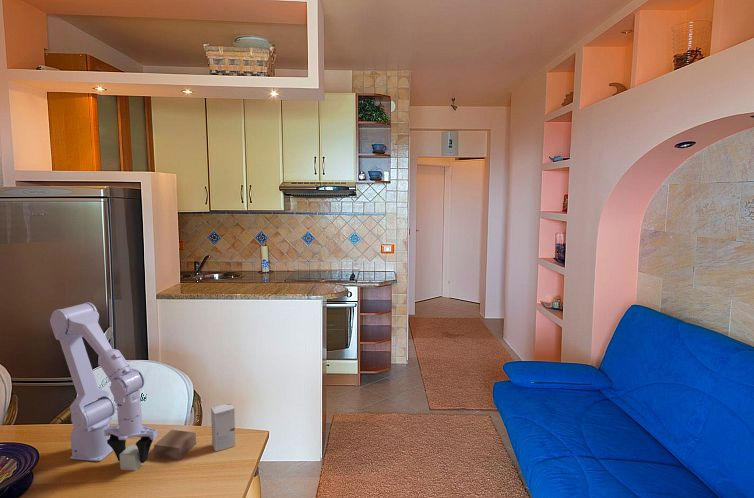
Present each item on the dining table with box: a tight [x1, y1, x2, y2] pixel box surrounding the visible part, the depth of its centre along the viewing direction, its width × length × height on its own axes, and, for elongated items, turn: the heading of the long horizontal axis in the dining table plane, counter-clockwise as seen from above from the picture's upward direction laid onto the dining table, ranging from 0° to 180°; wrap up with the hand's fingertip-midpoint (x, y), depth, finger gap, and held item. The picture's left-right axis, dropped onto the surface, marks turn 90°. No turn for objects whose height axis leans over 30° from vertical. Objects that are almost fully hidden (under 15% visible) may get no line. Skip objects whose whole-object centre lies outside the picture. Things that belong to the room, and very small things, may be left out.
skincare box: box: [210, 402, 236, 452], centre depth 133 cm, size 6×4×12 cm
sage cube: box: [119, 444, 144, 471], centre depth 124 cm, size 4×4×4 cm
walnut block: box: [154, 429, 197, 460], centre depth 131 cm, size 8×8×4 cm
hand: (133, 460), depth 124 cm, fingers open, 6 cm apart
